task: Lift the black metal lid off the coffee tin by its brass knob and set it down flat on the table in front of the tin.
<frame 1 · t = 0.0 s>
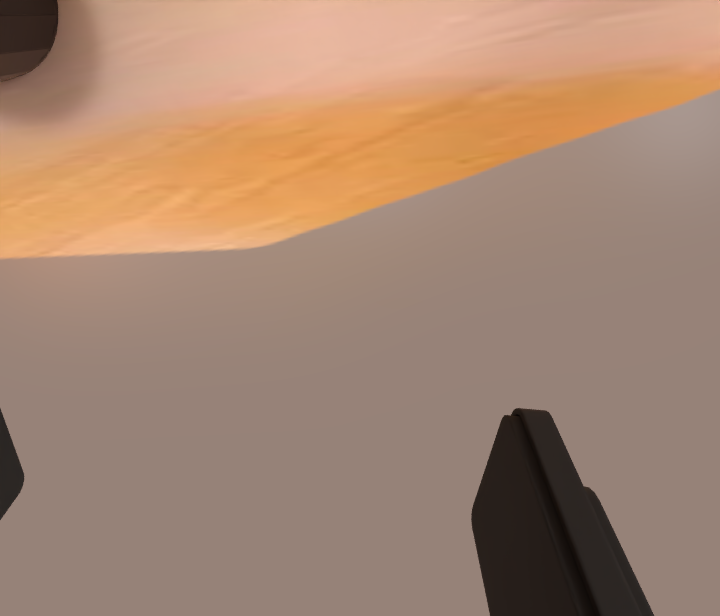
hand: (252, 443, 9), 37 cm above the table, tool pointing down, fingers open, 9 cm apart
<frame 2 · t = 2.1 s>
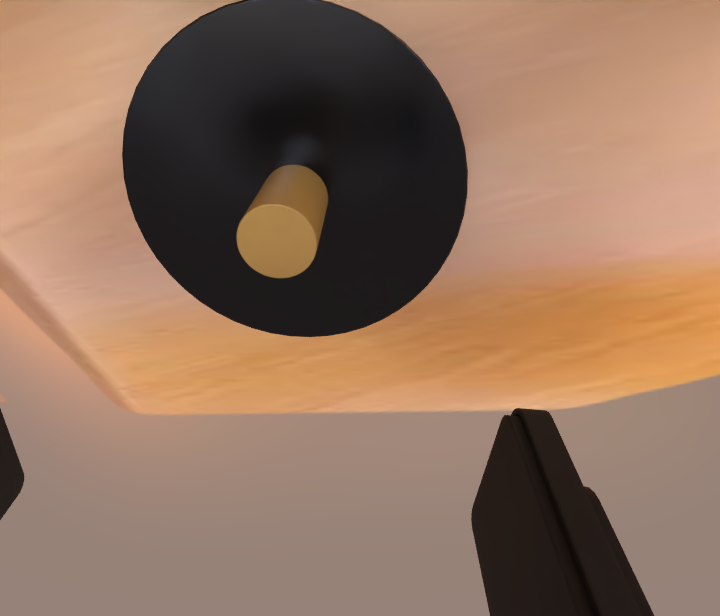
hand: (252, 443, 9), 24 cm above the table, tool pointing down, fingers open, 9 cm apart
tin lid: (297, 192, 20), point 10 cm above the table, touching tin
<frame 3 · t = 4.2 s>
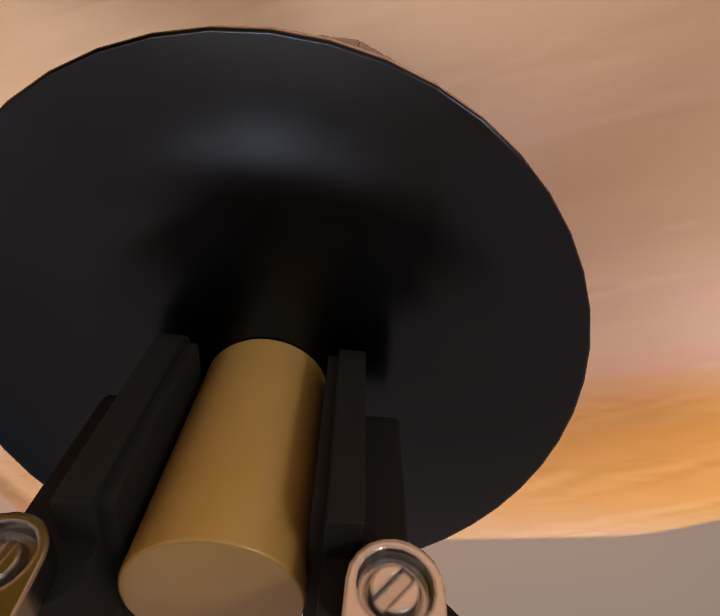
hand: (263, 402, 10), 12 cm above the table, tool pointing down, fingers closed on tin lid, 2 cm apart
tin lid: (272, 370, 11), point 11 cm above the table, touching gripper, tin
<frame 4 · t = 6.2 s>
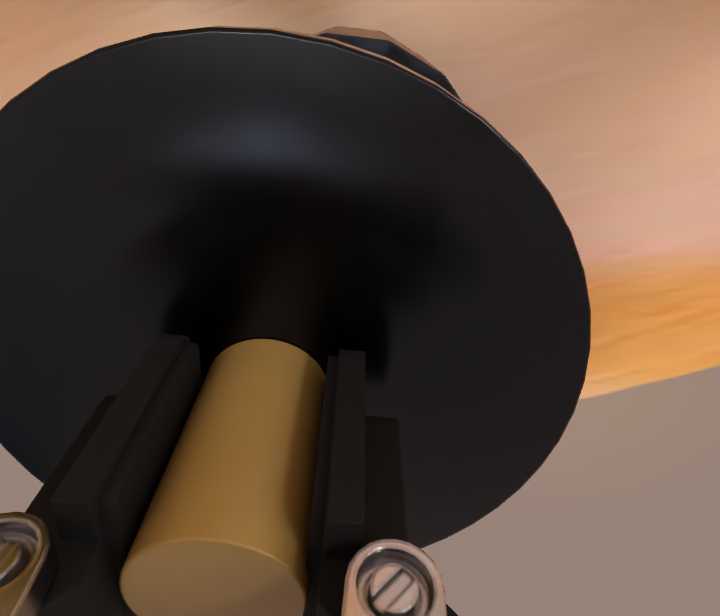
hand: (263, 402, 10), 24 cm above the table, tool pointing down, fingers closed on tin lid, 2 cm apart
tin lid: (273, 370, 11), point 23 cm above the table, touching gripper
tin: (349, 142, 31), on the table
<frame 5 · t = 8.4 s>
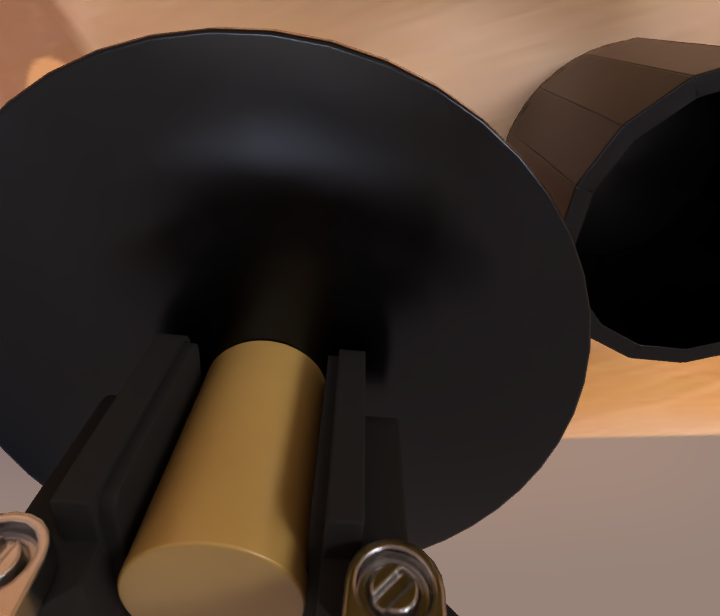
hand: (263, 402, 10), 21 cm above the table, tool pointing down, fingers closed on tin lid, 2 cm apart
tin lid: (272, 371, 11), point 20 cm above the table, touching gripper
tin: (610, 163, 29), on the table
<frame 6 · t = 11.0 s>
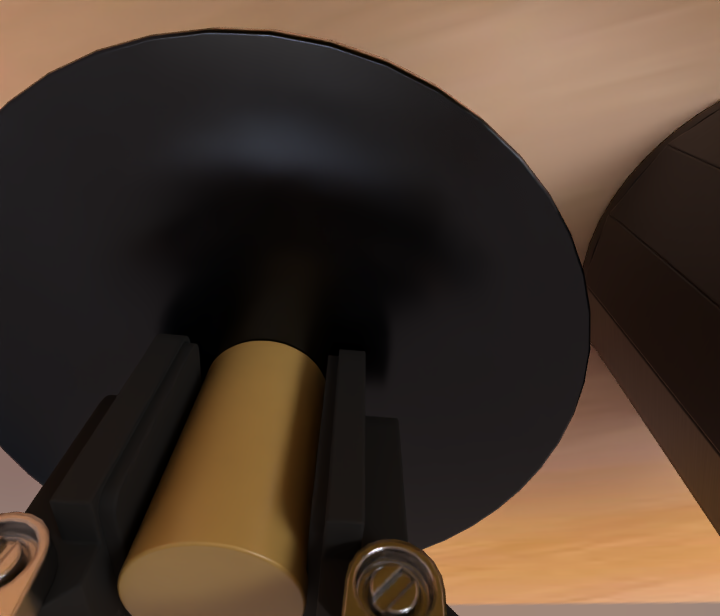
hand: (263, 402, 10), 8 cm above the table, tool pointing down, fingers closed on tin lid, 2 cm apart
tin lid: (272, 371, 11), point 7 cm above the table, touching gripper
when the fingers open (2 cm above the table, at t = 12.7 s): tin lid stays where it is, point 1 cm above the table.
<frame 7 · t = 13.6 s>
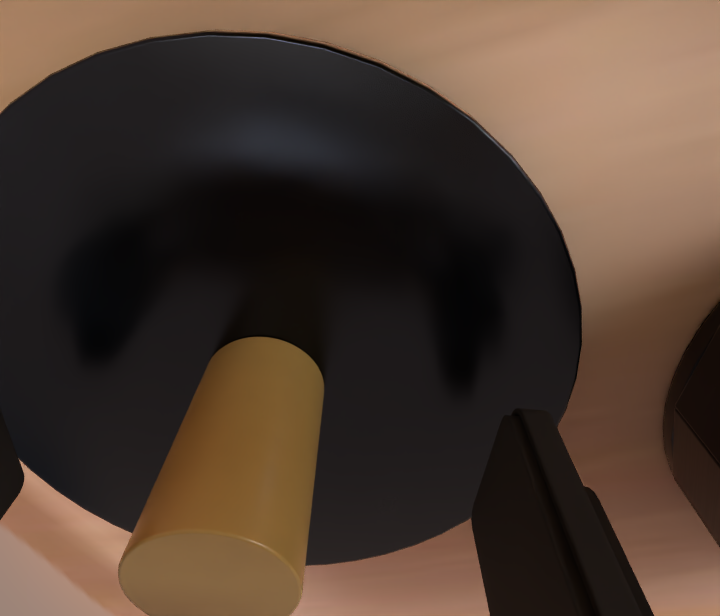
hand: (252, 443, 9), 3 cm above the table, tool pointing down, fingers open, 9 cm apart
tin lid: (269, 367, 11), point 1 cm above the table
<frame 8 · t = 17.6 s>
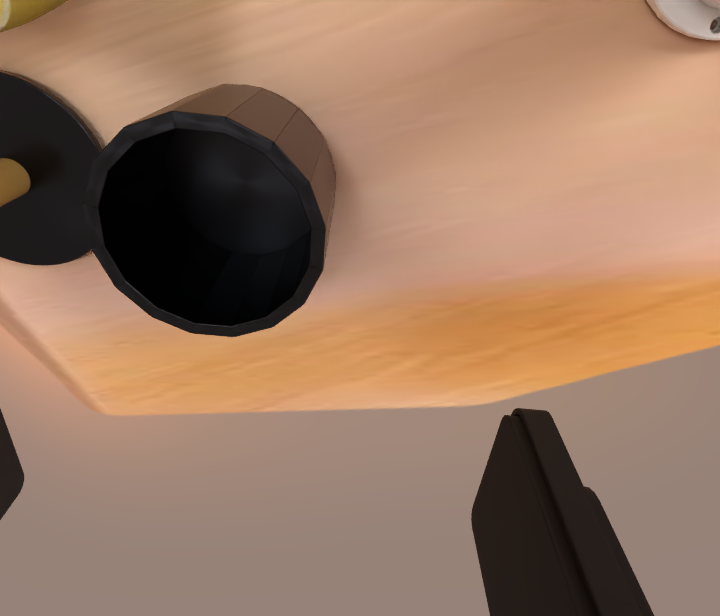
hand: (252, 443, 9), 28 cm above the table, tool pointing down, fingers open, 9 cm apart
tin lid: (16, 174, 35), point 1 cm above the table
tin: (247, 180, 35), on the table
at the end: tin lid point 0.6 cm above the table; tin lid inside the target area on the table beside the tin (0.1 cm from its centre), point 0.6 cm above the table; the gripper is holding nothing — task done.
